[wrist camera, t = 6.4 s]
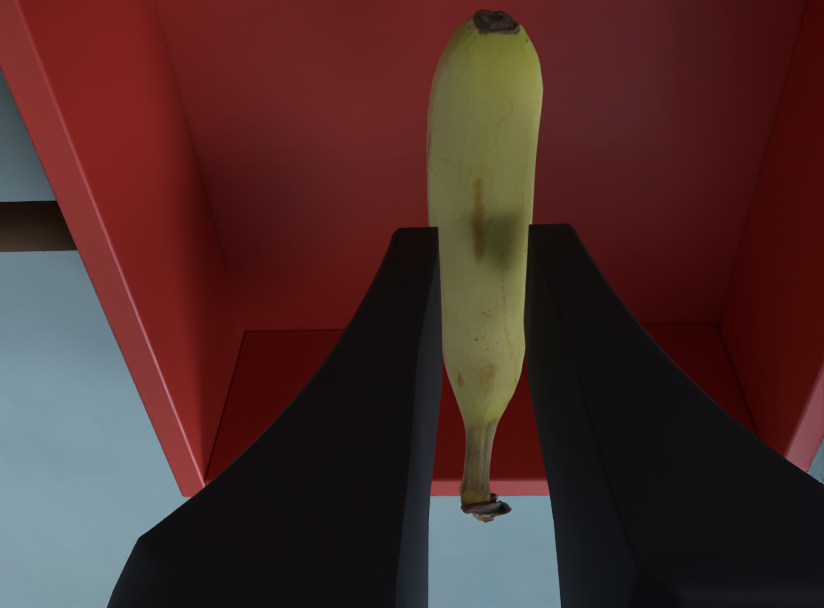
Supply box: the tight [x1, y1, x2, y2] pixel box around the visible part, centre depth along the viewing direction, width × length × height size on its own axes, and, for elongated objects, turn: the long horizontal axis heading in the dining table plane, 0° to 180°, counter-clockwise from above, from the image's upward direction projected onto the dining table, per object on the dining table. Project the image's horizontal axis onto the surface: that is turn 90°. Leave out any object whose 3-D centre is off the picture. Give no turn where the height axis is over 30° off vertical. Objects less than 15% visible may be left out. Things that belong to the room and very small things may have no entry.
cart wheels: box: [0, 201, 78, 252], centre depth 15 cm, size 18×14×4 cm
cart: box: [0, 0, 824, 497], centre depth 14 cm, size 13×12×5 cm
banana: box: [426, 9, 543, 523], centre depth 13 cm, size 8×2×4 cm, turn 4°
